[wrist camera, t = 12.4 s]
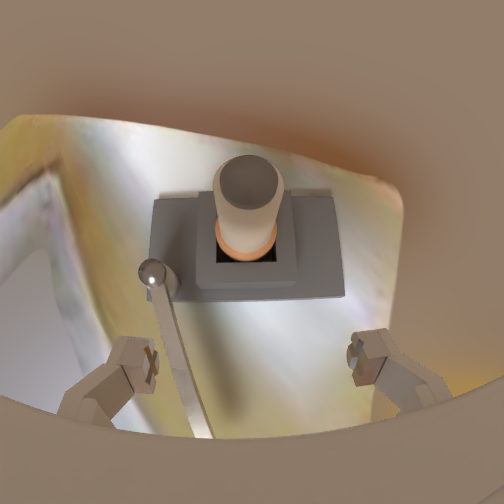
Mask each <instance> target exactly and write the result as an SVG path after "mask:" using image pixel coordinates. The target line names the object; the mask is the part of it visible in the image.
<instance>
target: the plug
mask: <svg viewBox="0 0 504 504" xmlns="http://www.w3.org/2000/svg"><path fill="white" fill-rule="evenodd" d="M213 191H214V197H215V203H216V209H217V215H218V218H217V220H216V224H215V233H216V238H217V242H218V244H219V246H220V248H221V249H222V251H223V252H224V253H225V255H226V257H227V258H228V259H229V260H230V261H231V262H232V263H242V262H260V261H261V260H262V259H263V257H264V256H265V255H266V254H267V253H268V252H269V251H270V249H271V248H272V246H273V244H274V242H275V239H276V235H277V223H276V217H277V213H278V210H279V206H280V203H281V199H282V196H283V192H284V181H283V178H282V175H281V173H280V172H279V170H278V169H277V168H276V167H275V166H274V165H273V164H272V163H271V162H269V161H267V160H265V159H263V158H261V157H258V156H253V155H243V156H239V157H236V158H233V159H231V160H229V161H227V162H226V163H224V164H223V165H222V166H221V167H220V168H219V169H218V171H217V173H216V175H215V177H214V181H213Z"/></svg>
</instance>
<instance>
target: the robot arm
mask: <svg viewBox="0 0 504 504" xmlns="http://www.w3.org/2000/svg"><path fill="white" fill-rule="evenodd" d="M351 341H352V343H351V344H350V345H349V346H348V349H347V363H348V366H349V367H350V368H351V369H352V370H354V371H353V373H352V377H353V379H354V382H355V385H356V387H358V386H365V385H372V384H374V386H375V387H377V388H378V389H379V390H380V391H381V392H382V393H383V394H385V395H386V396H387V397H388V398H389V399H390V400H391V401H392V402H393V403H394V404H396V405H397V406H398V407H399V408H400V411H399V412H398V414H397V415H396V416H395V417H393V418H389V419H385V420H381V421H377V422H372V423H368V424H363V425H358V426H353V427H348V428H343V429H337V430H331V431H325V432H318V433H310V434H302V435H292V436H281V437H267V438H245V439H211V438H188V437H174V436H163V435H154V434H146V433H139V432H132V431H126V430H120V429H116V427H115V426H114V425H113V423H112V422H111V421H110V420H111V419H112V418H113V417H114V416H115V415H116V414H117V413H118V412H119V411H120V409H121V408H122V407H123V406H124V405H125V404H126V403H127V402H128V401H129V400H130V399H131V398H132V396H133V395H134V394H135V393H140V394H154V390H155V386H156V380H155V376H156V375H157V374H158V372H159V355H158V352H157V351H156V350H154V348H155V342H154V339H152V338H142V337H128V336H118V337H117V338H116V340H115V343H114V345H113V348H112V350H111V353H110V355H109V358H108V360H107V363H106V364H102V365H101V366H99V367H98V368H97V369H95V370H94V371H93V372H91V373H90V374H89V375H87V376H86V377H85V378H83V379H82V380H81V381H79V382H78V383H77V384H75V385H74V386H73V387H72V388H70V389H69V390H68V391H66V392H65V394H64V397H63V400H62V402H61V404H60V407H59V410H58V412H57V415H56V414H52V413H49V412H45V411H43V410H40V409H37V408H33V407H31V406H28V405H25V404H22V403H20V402H17V401H15V400H12V399H10V398H7V397H5V396H2V395H0V504H504V376H501V377H499V378H497V379H495V380H493V381H491V382H489V383H487V384H485V385H483V386H480V387H478V388H476V389H474V390H471V391H469V392H467V393H464V394H462V395H459V396H457V397H454V398H453V396H452V394H451V392H450V390H449V388H448V387H447V385H446V383H445V381H444V379H443V378H442V377H440V376H439V375H437V374H436V373H434V372H432V371H431V370H429V369H428V368H426V367H425V366H423V365H421V364H420V363H418V362H417V361H415V360H413V359H412V358H410V357H409V356H407V355H405V354H401V353H400V351H399V349H398V347H397V346H396V344H395V342H394V340H393V339H392V337H391V335H390V333H389V331H388V330H387V329H386V328H383V329H376V330H368V331H360V332H354V333H353V334H352V336H351Z"/></svg>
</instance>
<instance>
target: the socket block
mask: <svg viewBox="0 0 504 504" xmlns="http://www.w3.org/2000/svg"><path fill="white" fill-rule="evenodd" d="M217 218H218V215H217V209H216V203H215V197H214V191H206V192H199V197H198V198H177V199H157V200H154V206H153V215H152V225H151V236H150V248H149V259H151V258H153V259H157V260H159V261H160V262H161V263H162V264H163V265H164V266H165V268H166V271H167V276H166V280H167V285H168V289H169V293H170V297H171V301H172V302H250V301H281V300H304V299H323V298H340V297H343V296H345V289H344V279H343V269H342V260H341V251H340V243H339V235H338V228H337V221H336V214H335V207H334V201H333V197H297V196H291V191H284V192H283V196H282V199H281V203H280V206H279V210H278V213H277V217H276V223H277V235H276V239H275V242H274V244H273V246H272V248H271V249H270V251H269V252H268V253H267V254H266V255H265V256H264V257H263V259H262V260H261V261H260V262H242V263H232V262H231V261H230V260H229V259H228V258H227V257H226V255H225V253H224V252H223V251H222V249H221V248H220V246H219V244H218V242H217V238H216V233H215V224H216V220H217ZM146 286H147V285H146ZM147 301H149V302H153V301H152V297H151V293H150V288H149V286H147Z"/></svg>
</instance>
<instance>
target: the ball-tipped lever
mask: <svg viewBox="0 0 504 504" xmlns="http://www.w3.org/2000/svg"><path fill="white" fill-rule="evenodd" d="M138 274H139V278H140V280H141V281H142V282H143V283H144V284H146V285H147V286H149V288H150V293H151V297H152V301H153V305H154V309H155V313H156V317H157V321H158V325H159V329H160V332H161V336H162V340H163V343H164V347H165V350H166V354H167V357H168V360H169V364H170V367H171V370H172V373H173V376H174V379H175V382H176V385H177V389H178V391H179V394H180V397H181V400H182V403H183V406H184V409H185V411H186V414H187V417H188V420H189V422H190V425H191V428H192V430H193V433H194V435H195V438H211V439H216V437H215V435H214V432H213V430H212V427H211V424H210V422H209V419H208V416H207V414H206V411H205V408H204V405H203V402H202V400H201V397H200V394H199V391H198V388H197V385H196V382H195V379H194V376H193V373H192V370H191V367H190V363H189V360H188V357H187V354H186V351H185V347H184V344H183V340H182V337H181V334H180V330H179V327H178V323H177V319H176V316H175V312H174V308H173V304H172V301H171V297H170V293H169V289H168V285H167V280H166V276H167V271H166V268H165V266H164V265H163V264H162V263H161V262H160V261H159V260H157V259H153V258H151V259H147V260H145V261H144V262H143V263H142V264H141V265H140V267H139V271H138Z"/></svg>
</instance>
